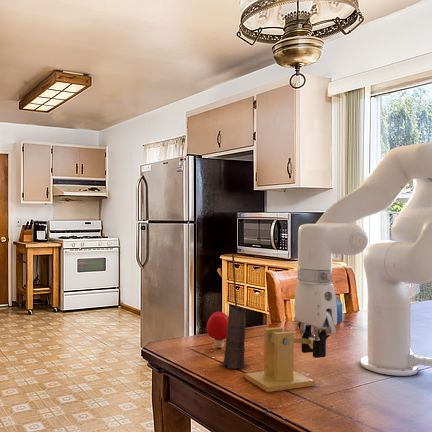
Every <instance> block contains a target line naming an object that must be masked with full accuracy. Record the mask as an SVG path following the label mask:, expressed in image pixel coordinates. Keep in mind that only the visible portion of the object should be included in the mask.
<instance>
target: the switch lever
mask: <svg viewBox="0 0 432 432" xmlns="http://www.w3.org/2000/svg"><path fill="white" fill-rule="evenodd" d="M275 333H279V332H272V333H271V339H270V342H272V343H274V344H275ZM313 340H315V334H312V336H310V337H309V338H308V339H304V338H302V337H295V336H294V343H295V344H302V343H303V344H308V346H309V347H310V348H312V349H313Z"/></svg>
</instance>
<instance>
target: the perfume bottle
mask: <svg viewBox="0 0 432 432" xmlns="http://www.w3.org/2000/svg"><path fill="white" fill-rule="evenodd" d="M336 303H337V323H342V322H343V303H342V301H341V300H340V298H339V297H338V296H336Z"/></svg>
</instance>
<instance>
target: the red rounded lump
mask: <svg viewBox="0 0 432 432" xmlns="http://www.w3.org/2000/svg"><path fill="white" fill-rule="evenodd" d="M227 327H228V315H227V314H226V313H225V312H223V311H214V312H213V313H212V314H211V315H210V316H209V318H208V320H207V322H206V332H207V334H208V336H209V337H210V338H212V339H213V346H214V347H215V348H216V349H218V350H220V349H222V348H223V347H225V343H224V342H225V340H226V336H227Z"/></svg>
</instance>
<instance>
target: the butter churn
mask: <svg viewBox="0 0 432 432" xmlns="http://www.w3.org/2000/svg"><path fill="white" fill-rule="evenodd" d="M231 260H232V276H233V277H232V278H233V291H234V292H233V293H234V306H229V308H228V315H227V316H228V327H227V336H226V339H225V345H224V355H223V366H224V367H227V369H235V370H237V369H240V370H241V369H242V368H244V367H245V351H246V348H245V346H246V345H245V343H246V342H245V341H246V310H247V309H246V308H245V307H242V306H238V300H237V298H238V297H237V295H238V294H237V283H236V265H235V254H231Z"/></svg>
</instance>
